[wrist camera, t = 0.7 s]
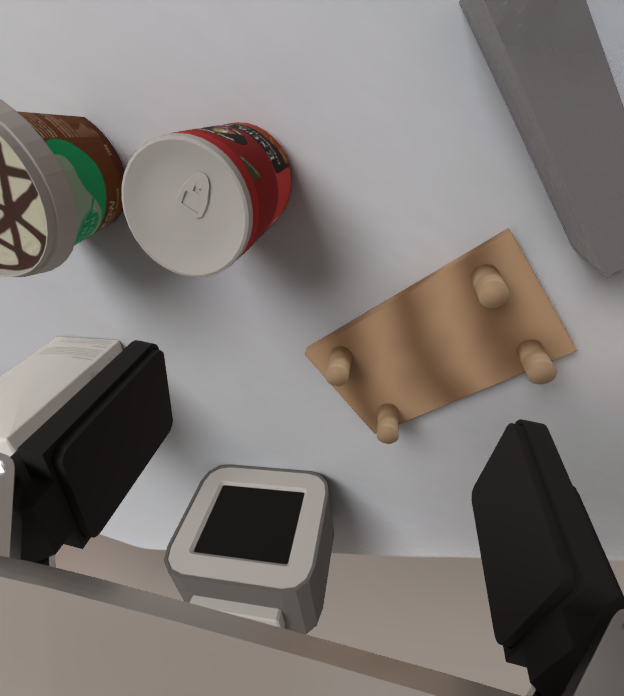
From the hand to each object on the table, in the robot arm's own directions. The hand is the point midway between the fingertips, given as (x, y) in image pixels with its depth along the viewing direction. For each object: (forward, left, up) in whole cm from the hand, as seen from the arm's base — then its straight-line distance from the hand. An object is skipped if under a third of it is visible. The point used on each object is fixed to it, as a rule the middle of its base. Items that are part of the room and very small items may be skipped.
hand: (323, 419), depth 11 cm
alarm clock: (+32, +24, -24) cm, 46 cm away
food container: (+18, -15, -24) cm, 33 cm away
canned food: (+7, -8, -24) cm, 26 cm away
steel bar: (-12, +2, -24) cm, 27 cm away
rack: (+3, +13, -24) cm, 27 cm away
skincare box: (+35, -5, -24) cm, 43 cm away
